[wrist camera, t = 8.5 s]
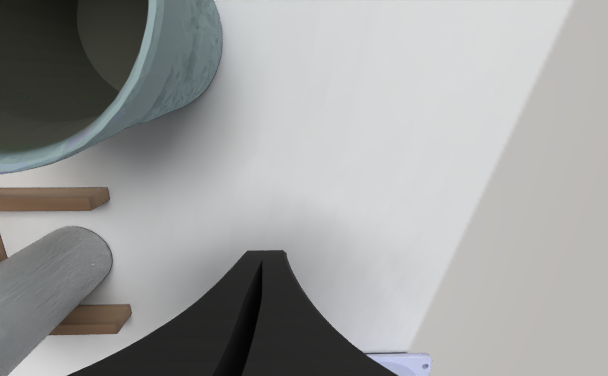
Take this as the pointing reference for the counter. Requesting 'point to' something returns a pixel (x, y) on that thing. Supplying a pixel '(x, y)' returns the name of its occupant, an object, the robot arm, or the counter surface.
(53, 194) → the walnut caddy
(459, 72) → the counter surface
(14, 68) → the teal tapered cup
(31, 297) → the brushed metal tube
